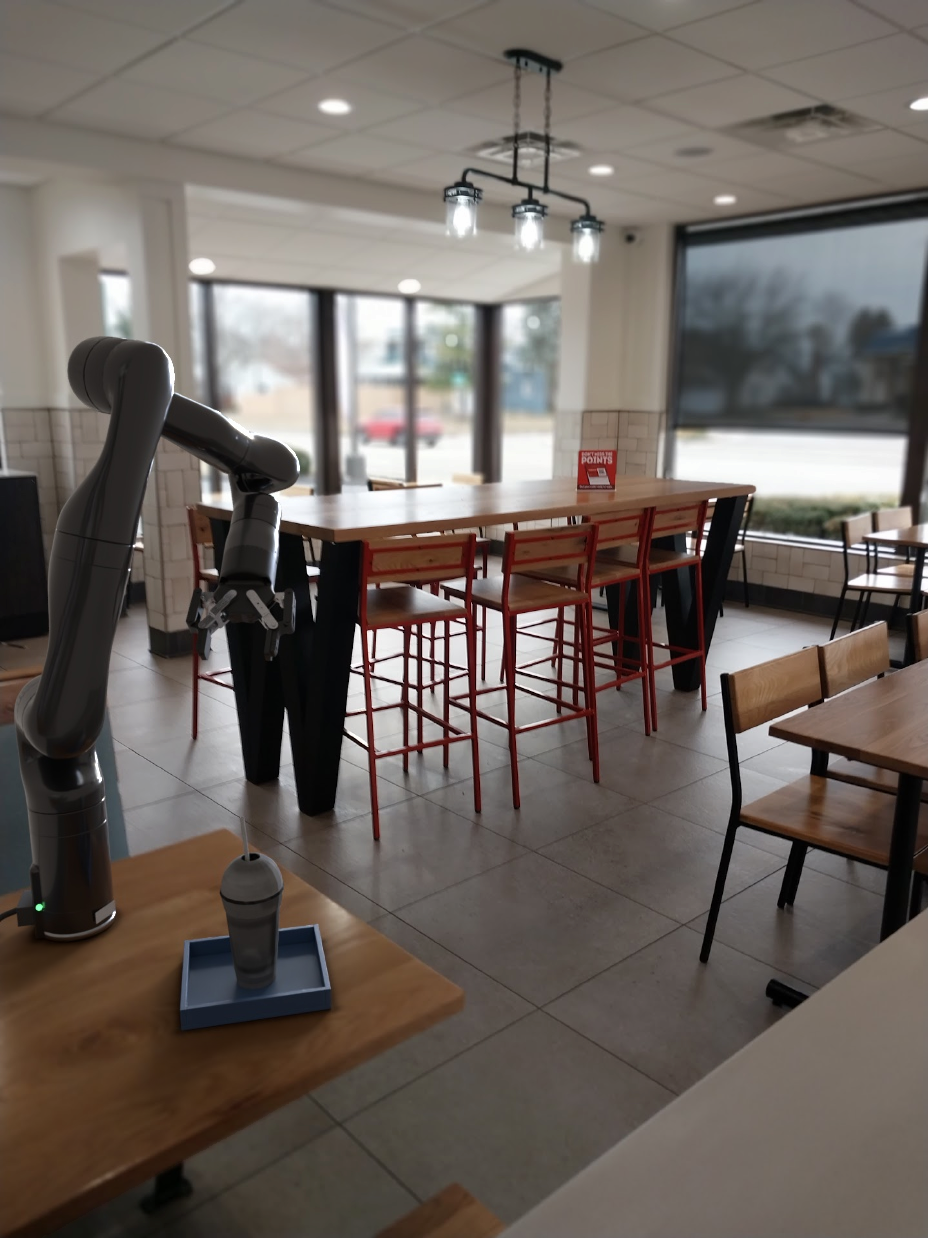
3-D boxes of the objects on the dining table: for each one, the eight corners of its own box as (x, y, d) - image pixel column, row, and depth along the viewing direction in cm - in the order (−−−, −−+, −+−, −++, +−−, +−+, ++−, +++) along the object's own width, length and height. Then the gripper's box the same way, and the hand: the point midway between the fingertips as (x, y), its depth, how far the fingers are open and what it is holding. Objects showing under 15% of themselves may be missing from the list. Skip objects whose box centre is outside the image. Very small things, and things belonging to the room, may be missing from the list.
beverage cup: (252, 1005, 106) (244, 839, 102) (211, 981, 110) (202, 822, 106) (300, 975, 112) (295, 817, 108) (259, 954, 116) (252, 801, 112)
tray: (181, 1031, 102) (179, 1010, 102) (185, 959, 116) (184, 940, 115) (331, 1009, 106) (330, 989, 106) (318, 942, 120) (318, 924, 119)
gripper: (194, 542, 131) (174, 642, 122) (297, 543, 131) (285, 643, 122) (206, 574, 137) (188, 671, 128) (304, 574, 137) (293, 672, 129)
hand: (235, 657), depth 125 cm, fingers open, 8 cm apart
